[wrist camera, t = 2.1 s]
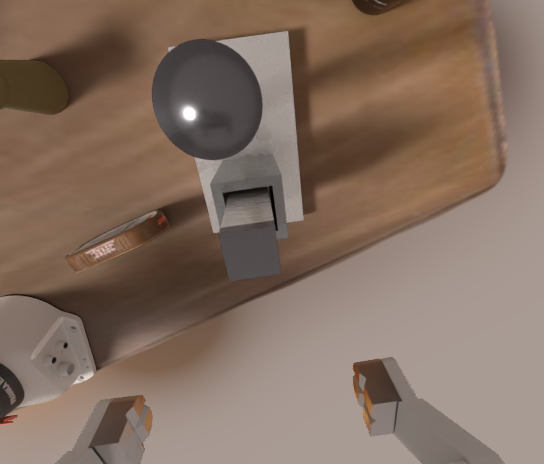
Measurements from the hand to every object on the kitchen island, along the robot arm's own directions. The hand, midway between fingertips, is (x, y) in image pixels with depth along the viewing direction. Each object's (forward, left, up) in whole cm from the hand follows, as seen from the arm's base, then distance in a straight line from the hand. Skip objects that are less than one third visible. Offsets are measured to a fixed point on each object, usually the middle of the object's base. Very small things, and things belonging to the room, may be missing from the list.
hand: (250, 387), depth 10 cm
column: (0, 0, -30) cm, 30 cm away
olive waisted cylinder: (+15, +24, -33) cm, 44 cm away
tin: (-5, +20, -33) cm, 39 cm away
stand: (+5, 0, -33) cm, 33 cm away
